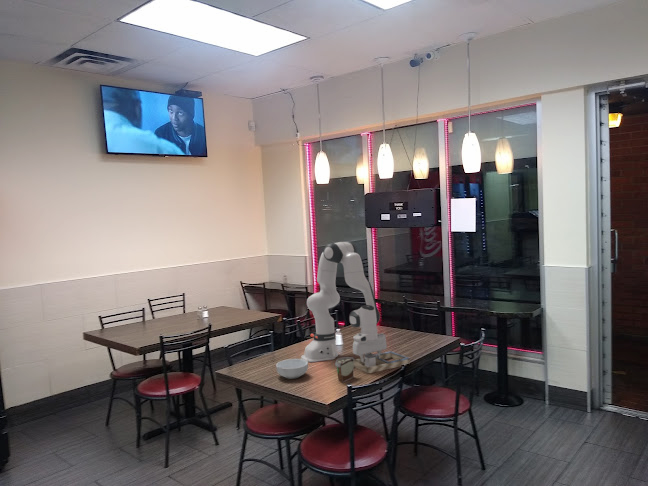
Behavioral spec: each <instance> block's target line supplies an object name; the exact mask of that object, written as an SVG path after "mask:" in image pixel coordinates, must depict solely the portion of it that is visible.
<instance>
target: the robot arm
mask: <svg viewBox="0 0 648 486" xmlns="http://www.w3.org/2000/svg"><path fill="white" fill-rule="evenodd" d="M339 263H341V264H342V267H343V273H344V275H343V276H344V281H345V284H346V285H347V286H349V287H350V288H352V289H355V290H358V291H360V292H361V293H362V294H363V297H364V301H365V304H364V305H361V307H360V308H358V309H355V310H352V311H351V312H350V313H349V315H348V316H349V317H348V321H349V324H350V325H351V326H352V327H353V328H360V332H359V333H357V334H355V335H353V338H352V339H353V340H354V341H353V342H352V354H353V355H355V356H359V359H360V358H361V362H365V359H364V354H368V353H372V354H373V353H375V352H376V354H377V355H376V359H380V354H381V353H382V351H385V350H387V348H388V346H387V340H386V338H387V337H386V334H385V333H383V332H381V333H378V327H377V325H378V323H379V322H380V319H381V313H380V311H379V308H378V306H377V302H376V299H375V296H374V295H375V294H374V291H373V288H372V285H371V282H370V281H369V280H368V279H367V277H366V275H365V271H364V266H363V260H362V258H361V256H360V254H359V253H358V248H357V246H356V244H354V243H353V242H350V241H339V242H331V243H328V244H326V245H325V246H324V248H323V250H322V253H321V255H320V257H319V261H318V265H317V267H318V268H317V274H316V275H317V277H316V281H317V283H318V284H319V288H320V290H319V291H318V292H316V293H315V292H314V293H313V294H311V295H310V296H309V297H308V298H307V299H306V306H307V309H309V311H311V313H312V315H313V317H314V322H315V334H314V333H311V334H310V337H311V338H313V339H312V340H311V341H310V343H308V344H307V345H306V346H305V348H304V352H303V354H302V355H300V359H303V360H306V361H307V362H308V363H315V362H322V361H323V362H324V361H330V360H336V358H337V357H338V356H339V353H338V350H337V345H336V331H335V319H334V318H333V317H332V316H331V315H330V312H329V311H330V309H332V308H335V307H336V306H337V305H338V304H339V303H340V301H341V297H340V293H338V291H337V286H336V285H337V284H336V281H337V280H336V278H337V270H338V264H339Z"/></svg>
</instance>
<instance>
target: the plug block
mask: <svg viewBox="0 0 648 486" xmlns="http://www.w3.org/2000/svg"><path fill="white" fill-rule="evenodd" d="M375 357H376V355H375V354H374V353H373V352H372V353H367V354H363V358H364V359H365V363H364V365H365V366H367V367H371V366H376V365H377V364H376V358H375Z"/></svg>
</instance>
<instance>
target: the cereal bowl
mask: <svg viewBox="0 0 648 486" xmlns="http://www.w3.org/2000/svg"><path fill="white" fill-rule="evenodd" d="M275 367H276V372H277V374H278V375H279V376H281V377H282V378H285V379H290V380H291V379H294V380H295V379H298V378H300V377H302V376H303V375H305V373H307V372H308V369H309V362H307V361H306V360H303V359H301V358H287V359H284V360H280V361H278V362H277V363H276V365H275Z"/></svg>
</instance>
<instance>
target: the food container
mask: <svg viewBox="0 0 648 486" xmlns="http://www.w3.org/2000/svg"><path fill="white" fill-rule="evenodd" d="M335 360H336V361H335V363H334V365H335V367H336V371H337V378H338V379H337V380H338V382H339V383H345V382H347V381H348V380H351V379H353V378H354V372H355V371H354V370H355V369H354V368H355V367H354V360H355V357H353V356H352V357H350V356H349V357H347V356H346V357H339V358H337V359H335Z"/></svg>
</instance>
